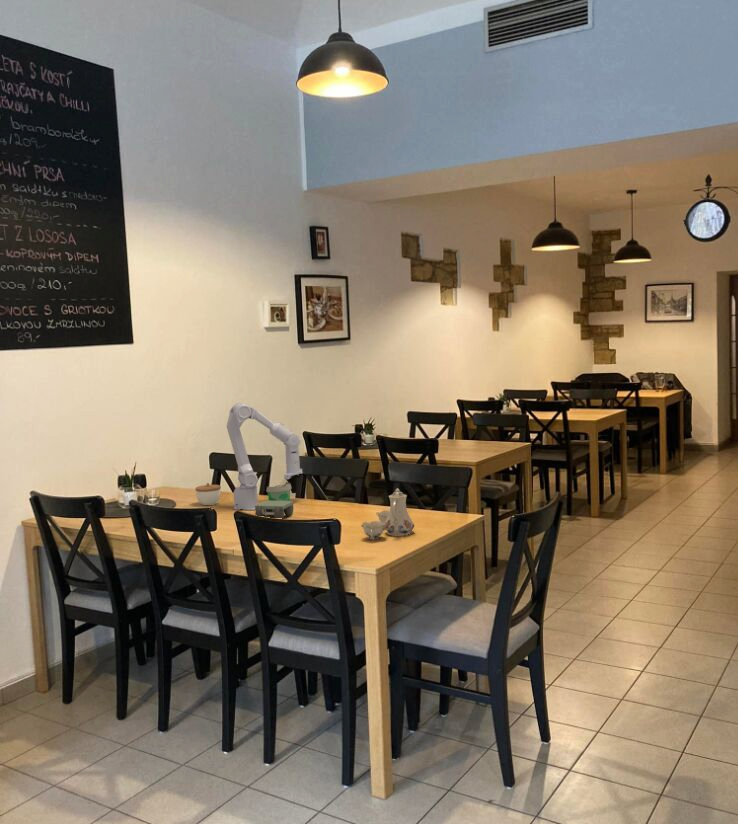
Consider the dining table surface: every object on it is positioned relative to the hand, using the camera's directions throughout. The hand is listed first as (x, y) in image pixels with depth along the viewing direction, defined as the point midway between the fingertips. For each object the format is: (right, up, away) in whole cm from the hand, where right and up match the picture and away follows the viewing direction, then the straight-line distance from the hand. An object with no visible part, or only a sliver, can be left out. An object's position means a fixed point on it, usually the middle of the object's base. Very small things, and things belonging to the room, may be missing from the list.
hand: (294, 492), depth 346 cm
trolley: (-5, -7, -28) cm, 29 cm away
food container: (-4, -6, -11) cm, 13 cm away
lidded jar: (-37, -6, +5) cm, 38 cm away
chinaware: (+40, -9, -60) cm, 73 cm away
